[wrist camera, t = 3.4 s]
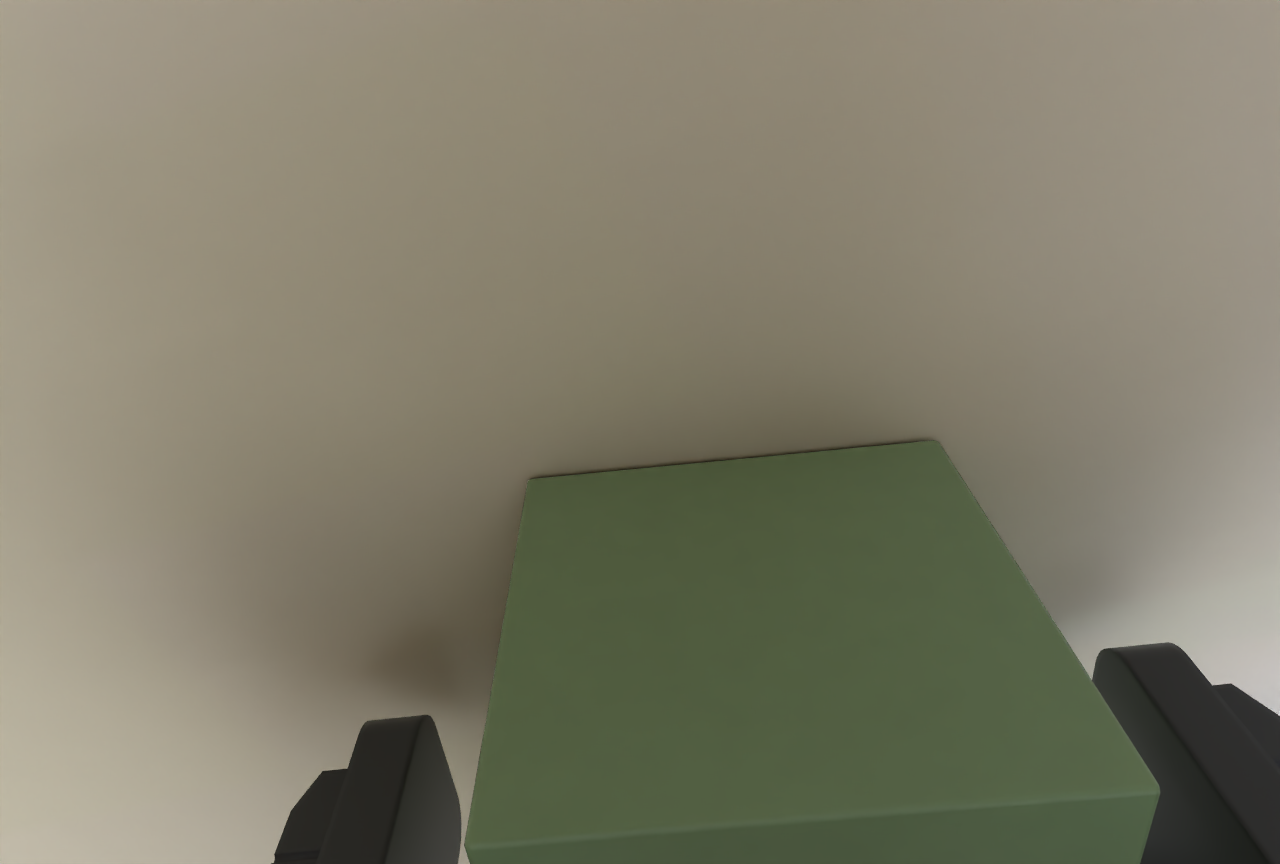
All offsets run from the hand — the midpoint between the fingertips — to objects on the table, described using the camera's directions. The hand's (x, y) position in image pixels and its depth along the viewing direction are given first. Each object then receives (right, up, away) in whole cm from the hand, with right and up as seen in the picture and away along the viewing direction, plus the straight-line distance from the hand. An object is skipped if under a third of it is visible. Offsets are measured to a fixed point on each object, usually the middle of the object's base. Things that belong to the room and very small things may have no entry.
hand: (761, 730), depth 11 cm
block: (0, +1, +1) cm, 2 cm away
